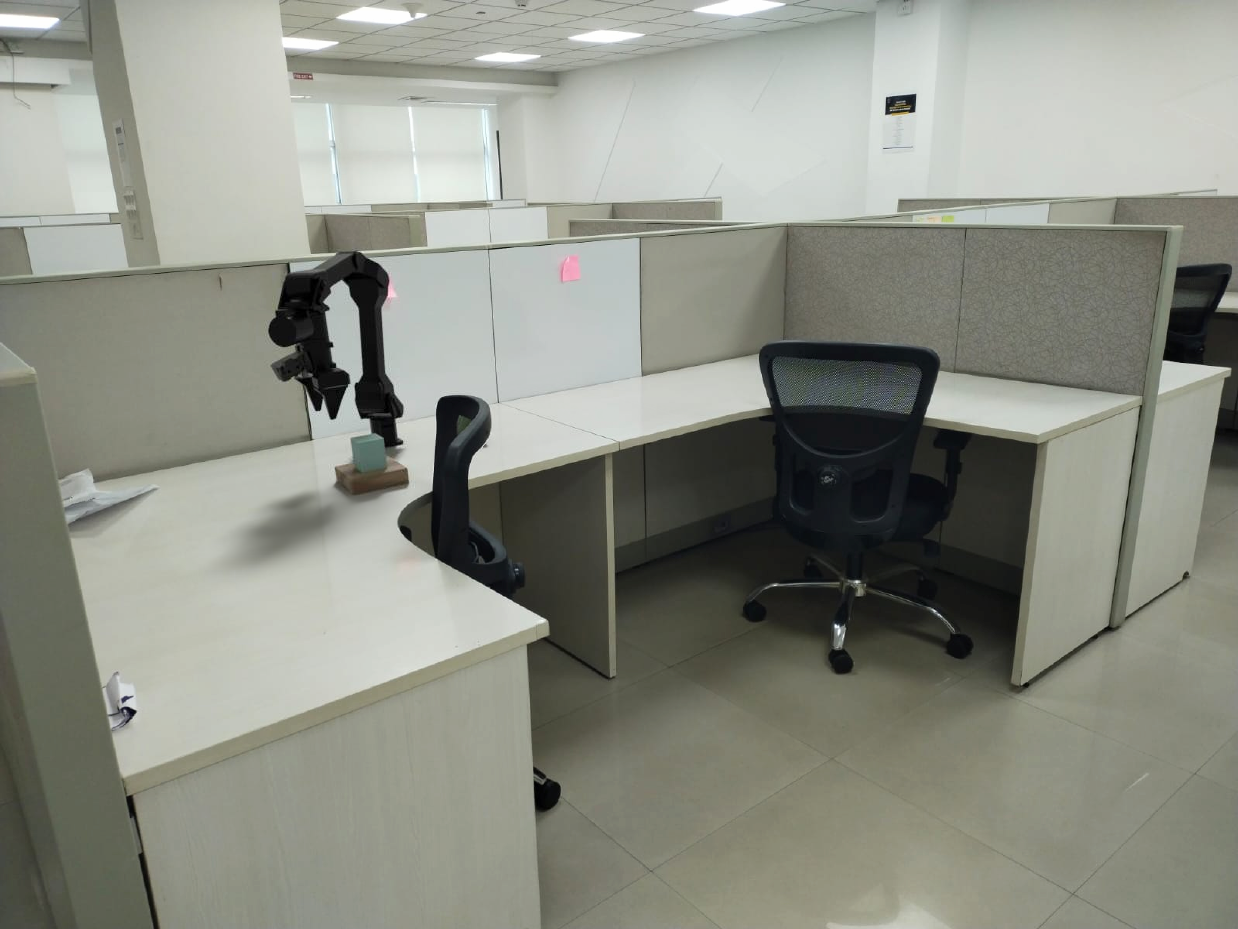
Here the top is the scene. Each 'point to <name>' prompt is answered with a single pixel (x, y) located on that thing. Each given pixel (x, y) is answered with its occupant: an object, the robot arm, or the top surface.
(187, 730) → the top surface
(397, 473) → the walnut base
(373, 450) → the teal block
